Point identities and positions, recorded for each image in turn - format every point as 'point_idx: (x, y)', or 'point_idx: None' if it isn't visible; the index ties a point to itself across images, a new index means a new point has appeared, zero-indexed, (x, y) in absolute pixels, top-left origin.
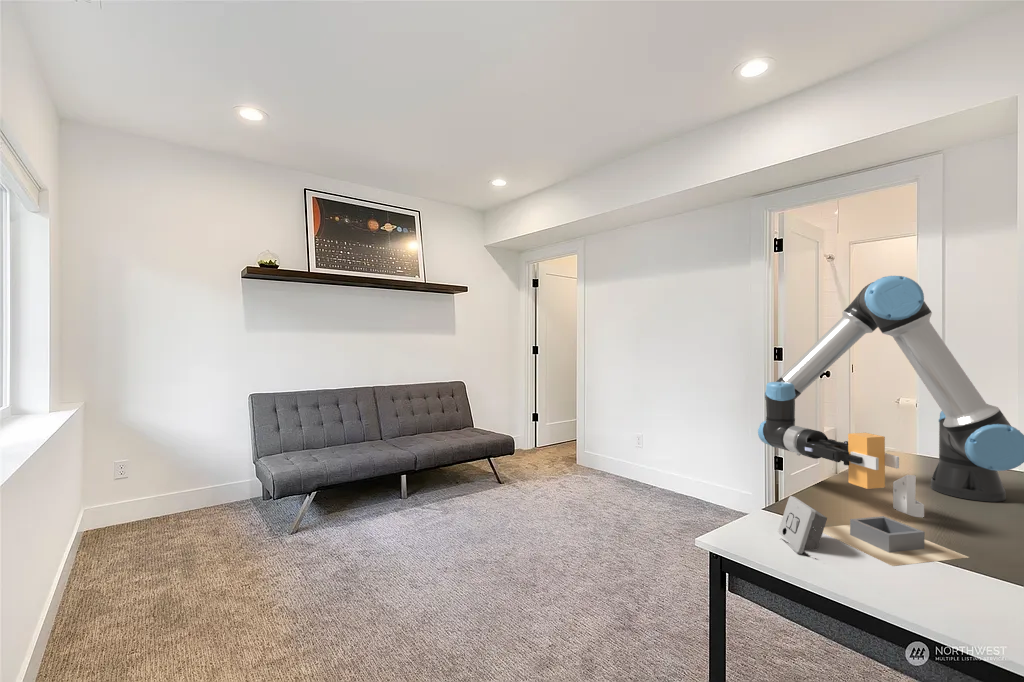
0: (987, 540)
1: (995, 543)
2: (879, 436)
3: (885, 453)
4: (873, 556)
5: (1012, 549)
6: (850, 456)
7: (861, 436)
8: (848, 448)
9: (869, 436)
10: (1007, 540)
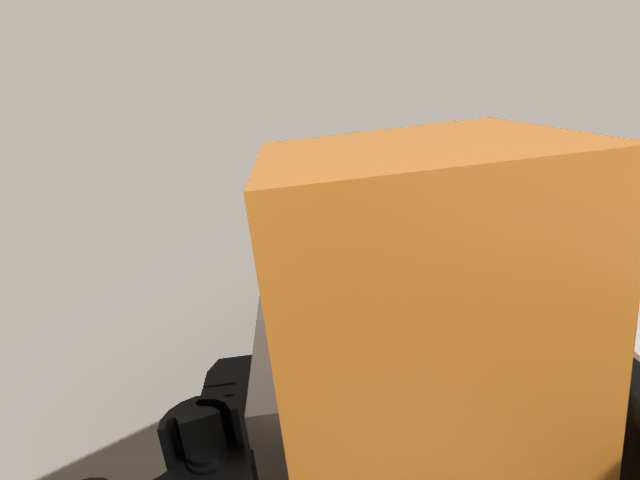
0: (138, 474)
1: (147, 455)
2: (310, 140)
3: (260, 324)
4: (635, 354)
5: (158, 425)
6: (633, 365)
7: (520, 122)
8: (625, 397)
9: (423, 130)
10: (74, 473)
